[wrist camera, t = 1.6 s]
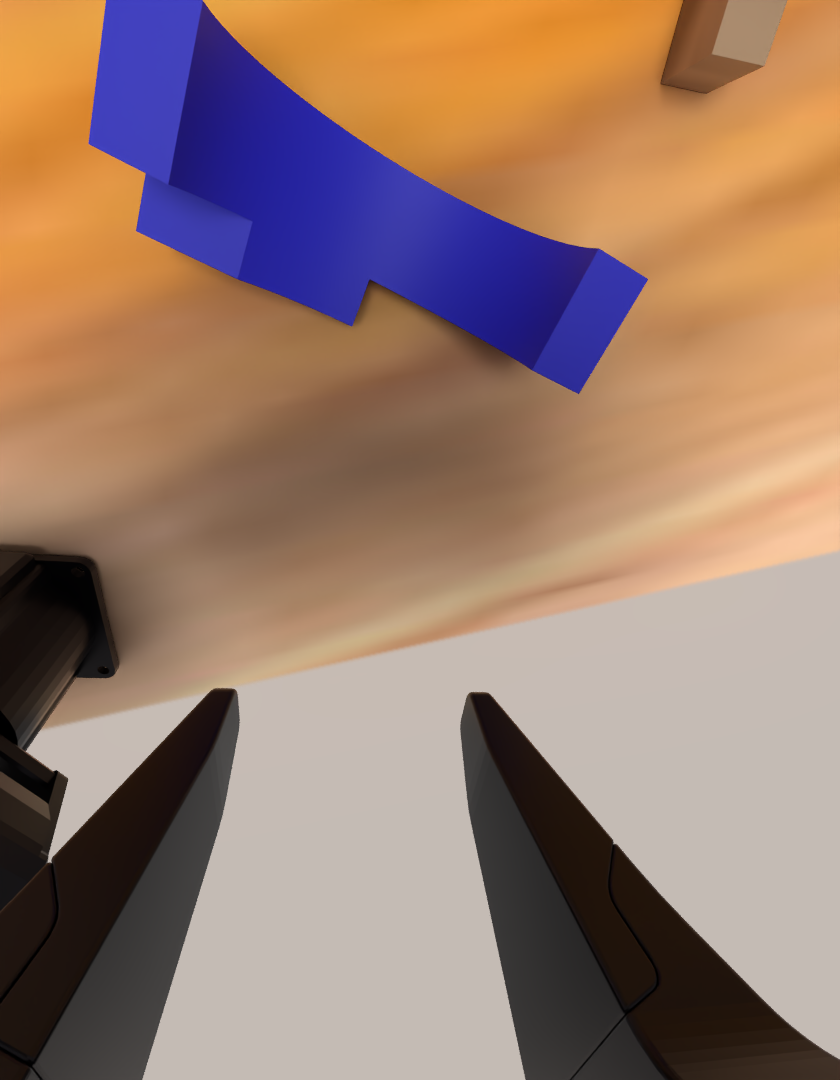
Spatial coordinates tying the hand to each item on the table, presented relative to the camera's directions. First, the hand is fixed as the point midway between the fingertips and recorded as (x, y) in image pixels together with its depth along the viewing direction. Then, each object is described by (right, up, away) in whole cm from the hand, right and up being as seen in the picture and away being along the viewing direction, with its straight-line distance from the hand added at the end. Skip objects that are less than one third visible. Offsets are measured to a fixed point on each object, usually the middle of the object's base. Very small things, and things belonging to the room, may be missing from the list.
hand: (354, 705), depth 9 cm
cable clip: (0, +13, +7) cm, 15 cm away
